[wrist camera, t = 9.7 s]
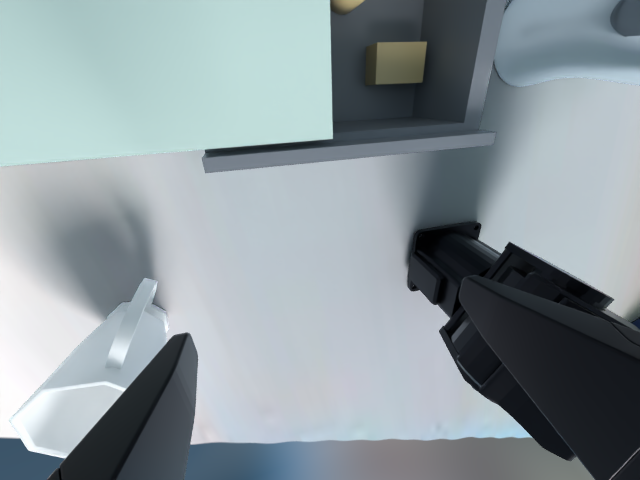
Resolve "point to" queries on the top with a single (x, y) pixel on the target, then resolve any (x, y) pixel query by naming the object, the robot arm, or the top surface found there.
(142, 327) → the cup
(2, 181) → the top surface
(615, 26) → the beer glass
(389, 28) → the tub
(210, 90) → the lid
